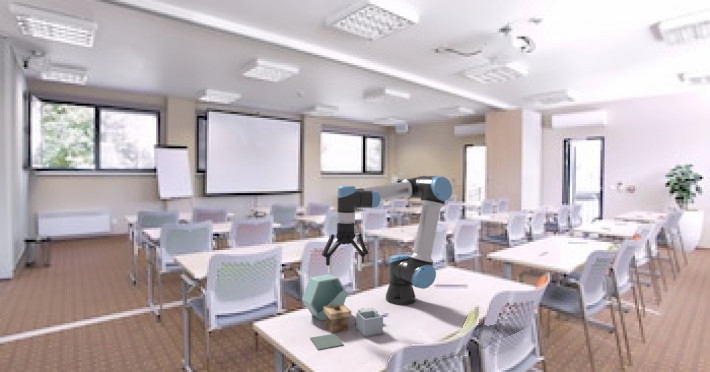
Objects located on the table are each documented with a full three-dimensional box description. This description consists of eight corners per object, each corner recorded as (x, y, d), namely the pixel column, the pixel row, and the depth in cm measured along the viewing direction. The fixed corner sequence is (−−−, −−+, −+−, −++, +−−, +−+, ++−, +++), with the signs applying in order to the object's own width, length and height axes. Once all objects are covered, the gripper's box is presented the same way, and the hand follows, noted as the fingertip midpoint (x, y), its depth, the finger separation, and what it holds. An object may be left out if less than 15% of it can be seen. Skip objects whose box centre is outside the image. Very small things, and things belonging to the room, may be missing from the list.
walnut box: (341, 324, 155) (341, 310, 155) (347, 330, 149) (348, 315, 149) (325, 326, 152) (326, 312, 152) (331, 333, 146) (331, 318, 146)
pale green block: (372, 318, 162) (372, 307, 162) (377, 322, 158) (377, 311, 158) (357, 320, 159) (358, 309, 159) (362, 325, 155) (362, 313, 155)
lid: (343, 308, 156) (343, 301, 156) (351, 316, 148) (351, 308, 148) (323, 311, 153) (323, 303, 153) (330, 319, 145) (330, 311, 145)
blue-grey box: (373, 326, 153) (373, 310, 153) (382, 334, 146) (382, 316, 146) (356, 329, 150) (356, 312, 150) (364, 337, 143) (364, 319, 142)
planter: (326, 329, 161) (304, 295, 153) (317, 323, 167) (295, 290, 159) (352, 302, 169) (332, 268, 162) (343, 297, 175) (323, 264, 168)
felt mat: (334, 334, 145) (334, 333, 145) (343, 345, 136) (343, 344, 136) (309, 338, 141) (309, 337, 141) (317, 350, 132) (317, 349, 132)
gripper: (369, 220, 163) (368, 267, 164) (315, 221, 154) (314, 271, 155) (376, 222, 156) (375, 271, 157) (320, 224, 147) (319, 276, 148)
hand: (344, 271), depth 156 cm, fingers open, 13 cm apart
